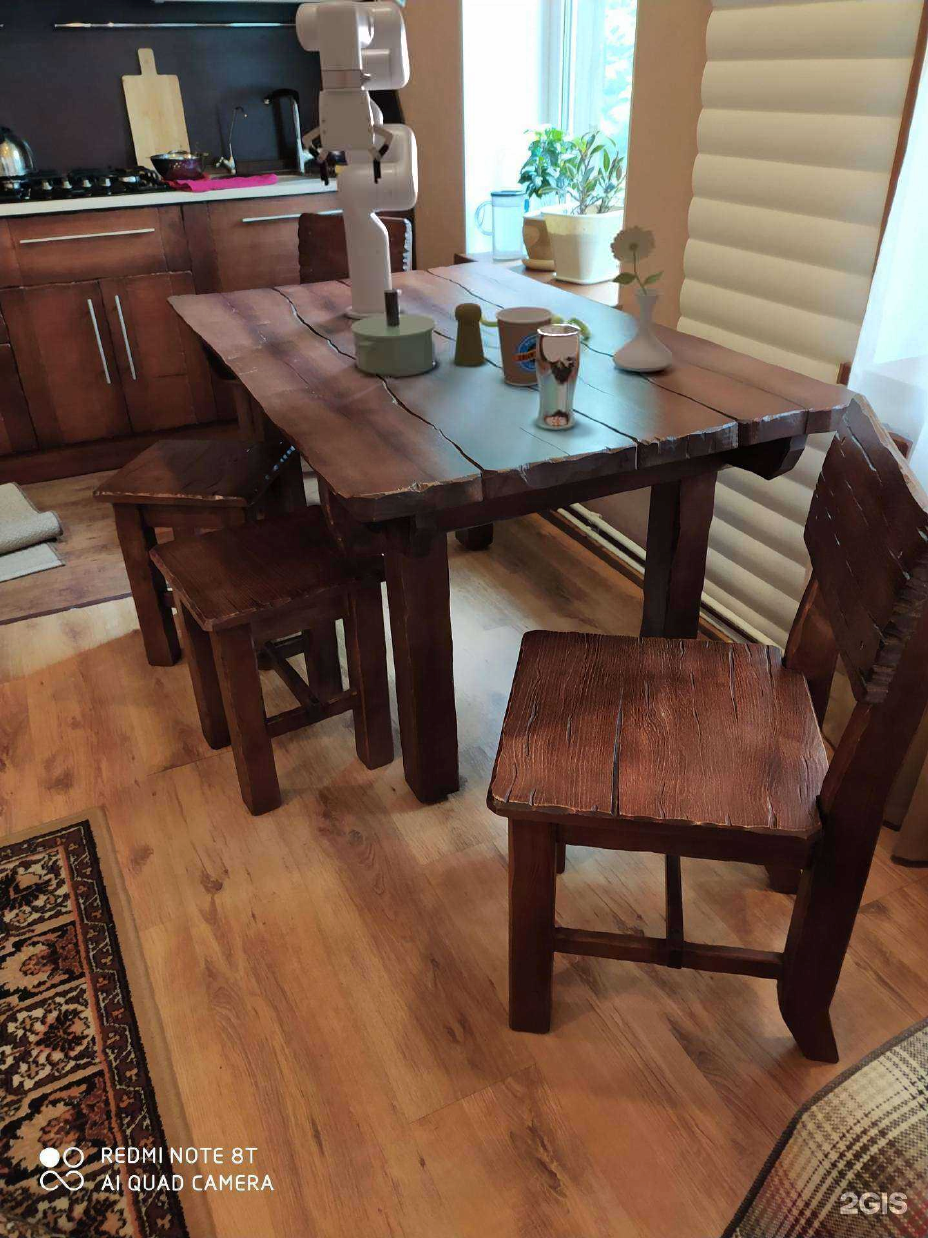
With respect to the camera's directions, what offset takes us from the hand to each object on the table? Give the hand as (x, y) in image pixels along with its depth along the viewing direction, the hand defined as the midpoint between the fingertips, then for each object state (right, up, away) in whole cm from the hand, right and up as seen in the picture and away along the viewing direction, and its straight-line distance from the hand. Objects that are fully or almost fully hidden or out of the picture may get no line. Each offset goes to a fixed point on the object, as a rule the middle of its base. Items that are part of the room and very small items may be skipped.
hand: (351, 183), depth 175 cm
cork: (+23, -35, +1) cm, 42 cm away
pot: (+9, -35, 0) cm, 36 cm away
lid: (+8, -29, -4) cm, 31 cm away
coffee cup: (+33, -41, -10) cm, 54 cm away
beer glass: (+37, -53, -30) cm, 71 cm away
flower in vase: (+55, -38, -5) cm, 67 cm away
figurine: (+34, -27, +12) cm, 45 cm away
